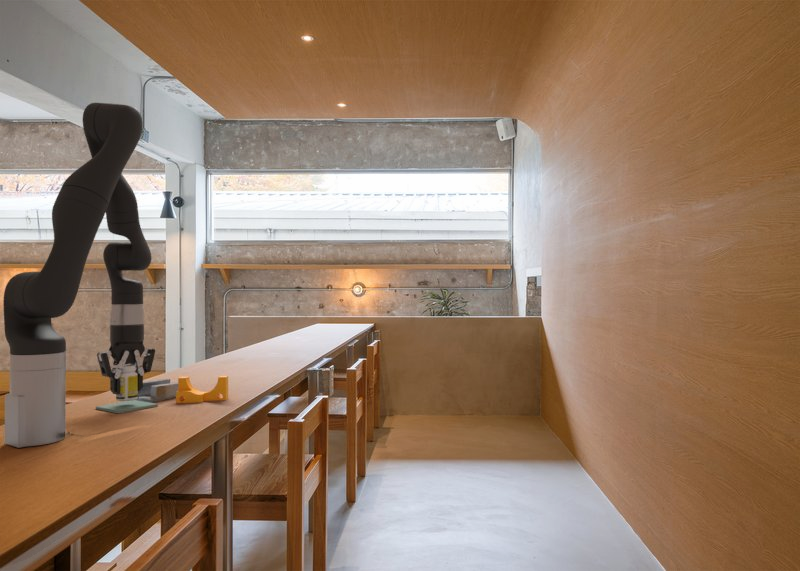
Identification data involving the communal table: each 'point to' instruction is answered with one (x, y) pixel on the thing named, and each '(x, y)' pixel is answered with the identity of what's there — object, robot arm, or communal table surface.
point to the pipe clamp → (192, 395)
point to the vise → (157, 390)
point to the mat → (126, 406)
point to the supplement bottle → (128, 384)
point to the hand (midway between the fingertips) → (126, 392)
